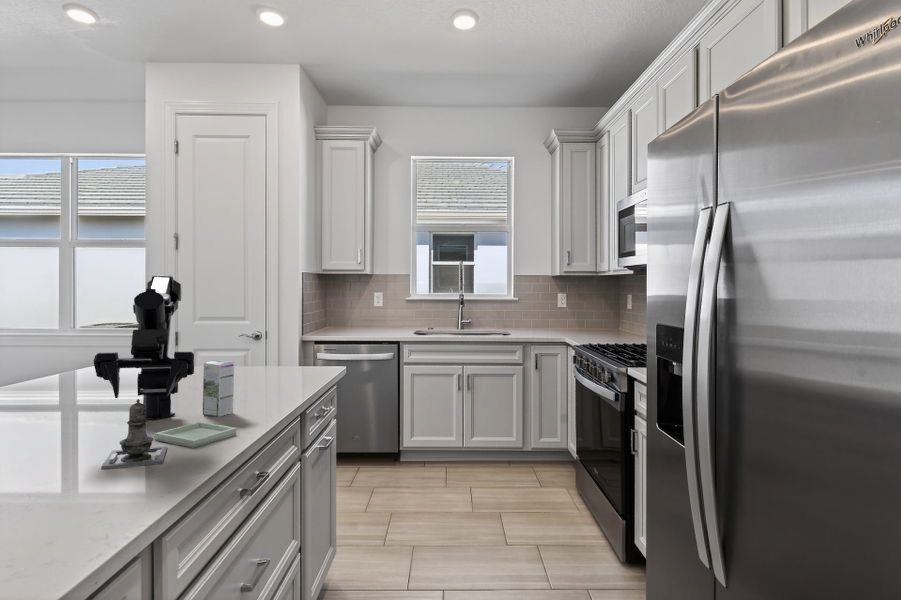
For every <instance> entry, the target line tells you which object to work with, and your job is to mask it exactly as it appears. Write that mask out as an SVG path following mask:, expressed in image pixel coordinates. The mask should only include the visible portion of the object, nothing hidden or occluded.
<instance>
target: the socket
mask: <svg viewBox="0 0 901 600" xmlns="http://www.w3.org/2000/svg"><path fill="white" fill-rule="evenodd" d="M167 450H168V446H167V445H165V446H154V447H152V446H151V447H150V449H149V450H148V451H146V452H145V453H148V452H156V453H155V459H152V460H151V459H149V460H145V461H139V462H128V463H125V462H120V463H115V462H116V460H117V459H118V456H119V455H123V454H126V453H125V452H123V450H122V449H116V450H115V449H114V450H111V451H110V453H109V454H108V456H107V457H106V459H105V460H104V462H103V463H102V465H101V466H100V467H101V468H100V470H107V469H116V468H117V469H118V468H128V467H139V466H150V465H159V464H160V465H161V464H163V463H164V459H165V456H166V453H167Z"/></svg>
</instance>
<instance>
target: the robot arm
mask: <svg viewBox="0 0 901 600" xmlns="http://www.w3.org/2000/svg"><path fill="white" fill-rule="evenodd" d="M133 301H134V302H133V305H132V310H133V314H134V315H135V319H136V320H135V321H136V322H137V325H138V326H137V329H133V330H132V333H131V334H132V335H131V343H130V344H131V347H130V348H131V349H130V355H131V356H132V357H126V358H125V357H120V358H119V352H114V351H113V352H97V353H96V354H95V355H94V357H93V358H94V359H93V366H94V370H95V374H96V377H97V378H100V379H103V380H104V381H109V383H110V385H111V387H112V390H113V395H114V398H115V399H118V398H119V393H120V379H121V378H120V372H121V369H140V371H139V372H138V373H137V396H140V397H141V396H143V397H142V398H143V401H142V404H144V405H145V406H146V420H152V421H156V420H159V419H160V420H161V419H164V418H168V417H172V416H175V415H176V413H175V412H172V399H171V397H172V395H175V394H177V393H179V382H180V381H181V380H182V379H185V378H187V377H188V376H192V375H193V374H194V373H195V353H194V352H193V351H174V353H173V358H172V357H169V346H170V334H171V324H172V323H171V321H172V317H173V315H174V313H175V312H176V311H177V309H179V302H181V301H182V284H181V283H180V282H178V281H177V280H175V279H174V276H173V275H172V276H171V274H153V275H151V279H150V280H149V281H148V282H147V283H146V289H145V291H142V292H141V293H138V294H137V295H136V296H135V297H134V299H133Z"/></svg>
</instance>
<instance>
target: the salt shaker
mask: <svg viewBox="0 0 901 600" xmlns="http://www.w3.org/2000/svg"><path fill="white" fill-rule="evenodd" d="M128 411H129V412H128V413H129V415H128V416H129V418H128V421H126V424H127V425H128V427H127V428H128V431H127V436H126V437H125V439H121V440H120V441H119V445H120V447H121V450H123V452H125V453H124V454H126V455H124V456H122V457H121V458H120V462H121V463H128V462H139V461H149V460H151V458H152V457H153V456H152V454H151V453H148V452H149V451H148V450H149V449H150V448H151V447H152V444H153V442H154V440H155V438H154V437H152V436H148V434H147V423H148V422H149V419H146V406H145V405H144V404H143V403H141V402H140V399H139V398H137V400H136V401H135V403H134V404H131V405H130V407H129V409H128ZM146 451H148V452H146Z"/></svg>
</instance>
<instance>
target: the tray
mask: <svg viewBox="0 0 901 600" xmlns="http://www.w3.org/2000/svg"><path fill="white" fill-rule="evenodd" d="M234 434H236V435H237V427H233V426H227V425H222V424H221V425H220V424H215V423H210V422H206V421H205V422H204V421H196V422H193V423H188V424H185V425H181V426H177V427H174V428H171V429H170V428H169V429H167V430H162V431H159V432H155V433H154V440H155V441H160V442H164V443H169V444H173V445H178V446H183V447H189V448H197V447H201V446H203V445H207V444H211V443H213V441H214V442H217V441H220V440H223V439H226V438H229V437H232V436H231V435H233V436H235V435H234ZM225 437H226V438H225ZM222 438H223V439H222ZM219 439H220V440H219ZM216 440H217V441H216Z"/></svg>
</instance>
